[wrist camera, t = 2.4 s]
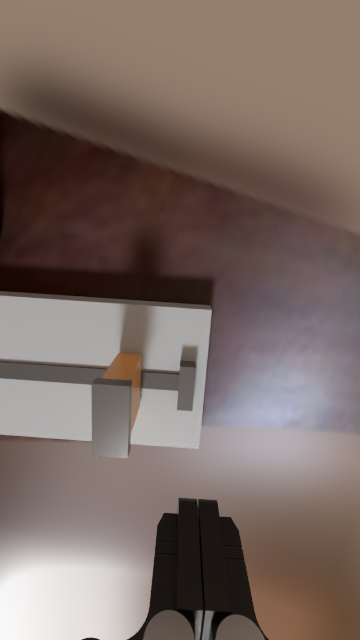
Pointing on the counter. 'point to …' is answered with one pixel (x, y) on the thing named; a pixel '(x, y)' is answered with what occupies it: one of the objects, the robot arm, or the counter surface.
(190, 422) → the console board
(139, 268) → the counter surface
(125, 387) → the fader tab
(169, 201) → the counter surface
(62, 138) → the counter surface
